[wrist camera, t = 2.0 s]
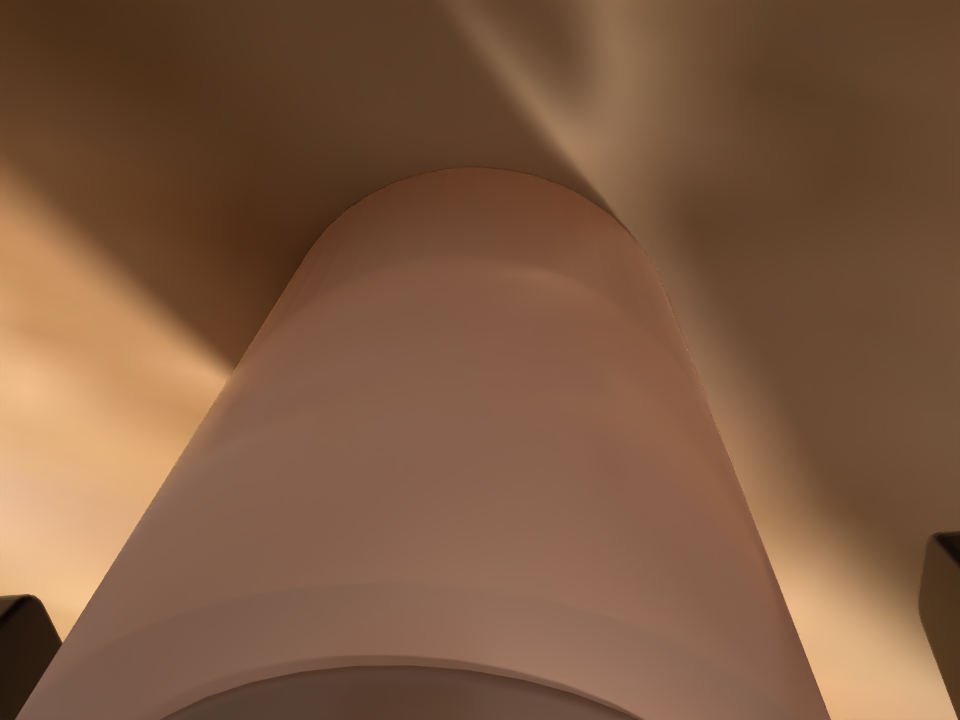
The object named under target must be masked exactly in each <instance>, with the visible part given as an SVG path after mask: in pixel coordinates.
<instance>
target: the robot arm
mask: <svg viewBox="0 0 960 720" xmlns="http://www.w3.org/2000/svg"><path fill="white" fill-rule="evenodd" d="M918 609H919V615H920V619H921V622H922V625H923V628H924V631H925V633H926V636H927V639H928V641H929V644H930V647H931V649H932V652H933V655H934V657H935V660H936V663H937V665H938V668H939V671H940V673H941V676H942V679H943V681H944V684H945V687H946V689H947V692H948V695H949V697H950V700H951V703H952V705H953V708H954V710H955V713H956V716H957V718H958V720H960V531H950V532H938V533H935V534H933V535H931V536H930V537H929V539H928V541H927V544H926V547H925V554H924V560H923V567H922V573H921V580H920V586H919V593H918ZM62 644H63V643H62V641H61V639H60V637H59V635H58V633H57V631H56V629H55V627H54V625H53V623H52V621H51V619H50V617H49V615H48V613H47V611H46V609H45V607H44V605H43V603H42V602H41V600H39V599H38V598H37V597H36V596H34V595H30V594H23V595H8V596H0V720H15V719H16V717H17V716H18V714H19V713H20V711H21V709H22V708H23V706H24V705H25V703H26V701H27V700H28V698H29V697H30V695H31V693H32V692H33V690H34V689H35V687H36V685H37V684H38V682H39V681H40V679H41V677H42V676H43V674H44V673H45V671H46V669H47V668H48V666H49V665H50V663H51V661H52V660H53V658H54V657H55V655H56V654H57V652H58V650H59V649H60V647H61V646H62Z"/></svg>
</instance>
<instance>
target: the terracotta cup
mask: <svg viewBox="0 0 960 720" xmlns="http://www.w3.org/2000/svg"><path fill="white" fill-rule="evenodd" d="M15 720H831V719H830V716H829V714H828V711H827V709H826V706H825V703H824V701H823V698H822V696H821V693H820V690H819V688H818V685H817V683H816V680H815V677H814V675H813V672H812V670H811V667H810V664H809V662H808V659H807V657H806V654H805V652H804V649H803V646H802V644H801V641H800V639H799V636H798V633H797V631H796V628H795V626H794V623H793V620H792V618H791V615H790V613H789V610H788V607H787V605H786V602H785V600H784V597H783V594H782V592H781V589H780V587H779V584H778V581H777V579H776V576H775V574H774V571H773V568H772V566H771V563H770V561H769V558H768V555H767V553H766V550H765V548H764V545H763V542H762V540H761V537H760V535H759V532H758V529H757V527H756V524H755V522H754V519H753V516H752V514H751V511H750V509H749V506H748V503H747V501H746V498H745V496H744V493H743V491H742V488H741V485H740V483H739V480H738V478H737V475H736V472H735V470H734V467H733V465H732V462H731V459H730V457H729V454H728V452H727V449H726V446H725V444H724V441H723V439H722V436H721V433H720V431H719V428H718V426H717V423H716V420H715V418H714V415H713V413H712V410H711V407H710V405H709V402H708V400H707V397H706V394H705V392H704V389H703V387H702V384H701V381H700V379H699V376H698V374H697V371H696V368H695V366H694V363H693V361H692V358H691V355H690V353H689V350H688V348H687V345H686V343H685V340H684V337H683V335H682V332H681V330H680V327H679V324H678V322H677V319H676V317H675V314H674V311H673V309H672V306H671V304H670V301H669V298H668V296H667V293H666V291H665V289H664V286H663V284H662V281H661V279H660V277H659V274H658V272H657V271H656V269H655V267H654V266H653V264H652V262H651V261H650V259H649V257H648V256H647V254H646V252H645V251H644V250H643V249H642V247H641V246H640V245H639V244H638V242H637V241H636V240H635V239H634V238H633V236H632V235H631V234H630V233H629V232H628V231H627V230H626V229H625V228H624V227H623V226H622V225H621V224H620V223H619V222H618V221H617V220H615V219H614V218H613V217H612V216H611V215H610V214H609V213H607V212H606V211H605V210H603V209H602V208H600V207H599V206H597V205H596V204H595V203H593V202H592V201H590V200H589V199H587V198H586V197H584V196H582V195H580V194H578V193H576V192H574V191H572V190H570V189H568V188H566V187H564V186H562V185H560V184H557V183H554V182H551V181H548V180H546V179H543V178H540V177H537V176H534V175H529V174H525V173H520V172H515V171H511V170H505V169H493V168H480V167H474V168H453V169H445V170H439V171H434V172H428V173H423V174H419V175H416V176H413V177H410V178H407V179H404V180H400V181H397V182H394V183H392V184H390V185H388V186H386V187H384V188H382V189H380V190H378V191H376V192H374V193H372V194H370V195H368V196H367V197H365V198H364V199H362V200H361V201H359V202H358V203H356V204H355V205H353V206H352V207H350V208H349V209H347V210H346V211H345V212H344V213H343V214H342V215H341V216H339V217H338V218H337V219H336V220H335V221H334V222H333V223H332V224H330V225H329V226H328V227H327V229H326V230H325V231H324V232H323V233H322V235H321V236H320V237H319V238H318V239H317V241H316V242H315V243H314V244H313V245H312V247H311V248H310V250H309V252H308V253H307V255H306V256H305V258H304V260H303V261H302V263H301V264H300V266H299V268H298V269H297V271H296V272H295V274H294V276H293V277H292V279H291V280H290V282H289V283H288V285H287V287H286V288H285V290H284V291H283V293H282V295H281V296H280V298H279V299H278V301H277V303H276V304H275V306H274V307H273V309H272V311H271V312H270V314H269V315H268V317H267V319H266V320H265V322H264V323H263V325H262V327H261V328H260V330H259V331H258V333H257V335H256V336H255V338H254V339H253V341H252V342H251V344H250V346H249V347H248V349H247V350H246V352H245V354H244V355H243V357H242V358H241V360H240V362H239V363H238V365H237V366H236V368H235V370H234V371H233V373H232V374H231V376H230V378H229V379H228V381H227V382H226V384H225V386H224V387H223V389H222V390H221V392H220V394H219V395H218V397H217V398H216V400H215V402H214V403H213V405H212V406H211V408H210V409H209V411H208V413H207V414H206V416H205V417H204V419H203V421H202V422H201V424H200V425H199V427H198V429H197V430H196V432H195V433H194V435H193V437H192V438H191V440H190V441H189V443H188V445H187V446H186V448H185V449H184V451H183V453H182V454H181V456H180V457H179V459H178V461H177V462H176V464H175V465H174V467H173V468H172V470H171V472H170V473H169V475H168V476H167V478H166V480H165V481H164V483H163V484H162V486H161V488H160V489H159V491H158V492H157V494H156V496H155V497H154V499H153V500H152V502H151V504H150V505H149V507H148V508H147V510H146V512H145V513H144V515H143V516H142V518H141V520H140V521H139V523H138V524H137V526H136V528H135V529H134V531H133V532H132V534H131V535H130V537H129V539H128V540H127V542H126V543H125V545H124V547H123V548H122V550H121V551H120V553H119V555H118V556H117V558H116V559H115V561H114V563H113V564H112V566H111V567H110V569H109V571H108V572H107V574H106V575H105V577H104V579H103V580H102V582H101V583H100V585H99V587H98V588H97V590H96V591H95V593H94V594H93V596H92V598H91V599H90V601H89V602H88V604H87V606H86V607H85V609H84V610H83V612H82V614H81V615H80V617H79V618H78V620H77V622H76V623H75V625H74V626H73V628H72V630H71V631H70V633H69V634H68V636H67V638H66V639H65V641H64V642H63V644H62V646H61V647H60V649H59V650H58V652H57V654H56V655H55V657H54V658H53V660H52V661H51V663H50V665H49V666H48V668H47V669H46V671H45V673H44V674H43V676H42V677H41V679H40V681H39V682H38V684H37V685H36V687H35V689H34V690H33V692H32V693H31V695H30V697H29V698H28V700H27V701H26V703H25V705H24V706H23V708H22V709H21V711H20V713H19V714H18V716H17V717H16V719H15Z"/></svg>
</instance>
